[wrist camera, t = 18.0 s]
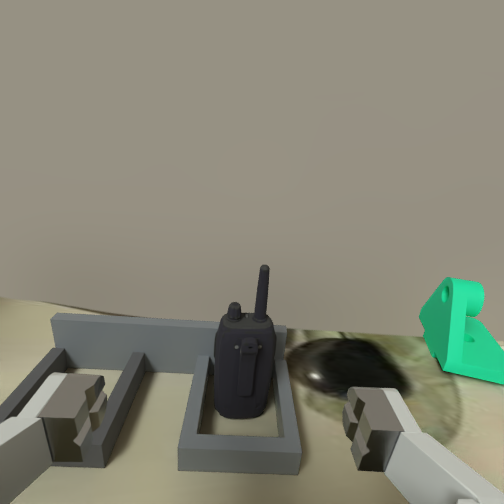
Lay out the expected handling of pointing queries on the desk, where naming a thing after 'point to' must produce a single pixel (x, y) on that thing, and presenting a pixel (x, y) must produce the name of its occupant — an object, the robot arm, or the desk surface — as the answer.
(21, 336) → the desk surface
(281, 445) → the dock
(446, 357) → the camera mount
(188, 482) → the desk surface
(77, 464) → the grey rectangular frame
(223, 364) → the two-way radio
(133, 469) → the desk surface
